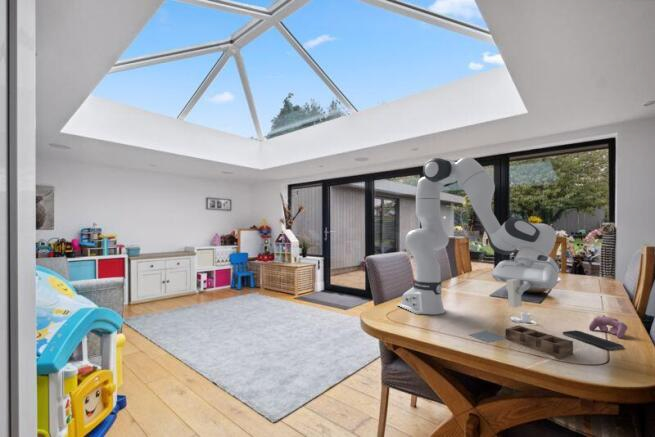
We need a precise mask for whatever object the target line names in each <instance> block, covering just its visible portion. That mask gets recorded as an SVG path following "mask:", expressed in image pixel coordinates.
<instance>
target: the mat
mask: <svg viewBox="0 0 655 437" xmlns="http://www.w3.org/2000/svg"><path fill="white" fill-rule="evenodd" d="M468 336H469V337H471V338H475V339H477V340H480V341H482V342H484V343H487V344H490V343H493V342H496V341H500V340H505V339H506V336H502V335H500V334H497V333H494V332H492V331H489V330H482V331H479V332H475V333H471V334H468Z"/></svg>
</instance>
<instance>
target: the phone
mask: <svg viewBox="0 0 655 437" xmlns="http://www.w3.org/2000/svg"><path fill="white" fill-rule="evenodd" d="M562 335H563V336H565V337H567V338H571V339H574V340H577V341H579V342H582V343H584V344H588V345H589V346H593V347H595V348H598V349H601V350H605V351H615V349H617V350H621V349H620V348H623V349H624V345H623V344H620V343H617V342H614V341H612V340H608V339H605V338H602V337H599V336H596V335H593V334H590V333H588V332H583V331H580V330H567V331H562Z"/></svg>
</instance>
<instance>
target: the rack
mask: <svg viewBox="0 0 655 437" xmlns="http://www.w3.org/2000/svg"><path fill="white" fill-rule="evenodd" d="M505 337H506V338H505V340H508V341H510V342H513V343H515V344H519V345H521V346H524V347H527V348H529V349H533V350H535V351H538V352H541V353H543V354H547V355H549V356H552V357H553V358H554V359H557V360H561V359H564V358H567V357H570V356H573V355H574V342H573V340H569V339H565V338H563V337H559V336H556V335H552V334H549V333H545V332H543V331H538V330H536V329H532V328H529V327H525V326H522V325H515V326H511V327H507V328H505Z"/></svg>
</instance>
